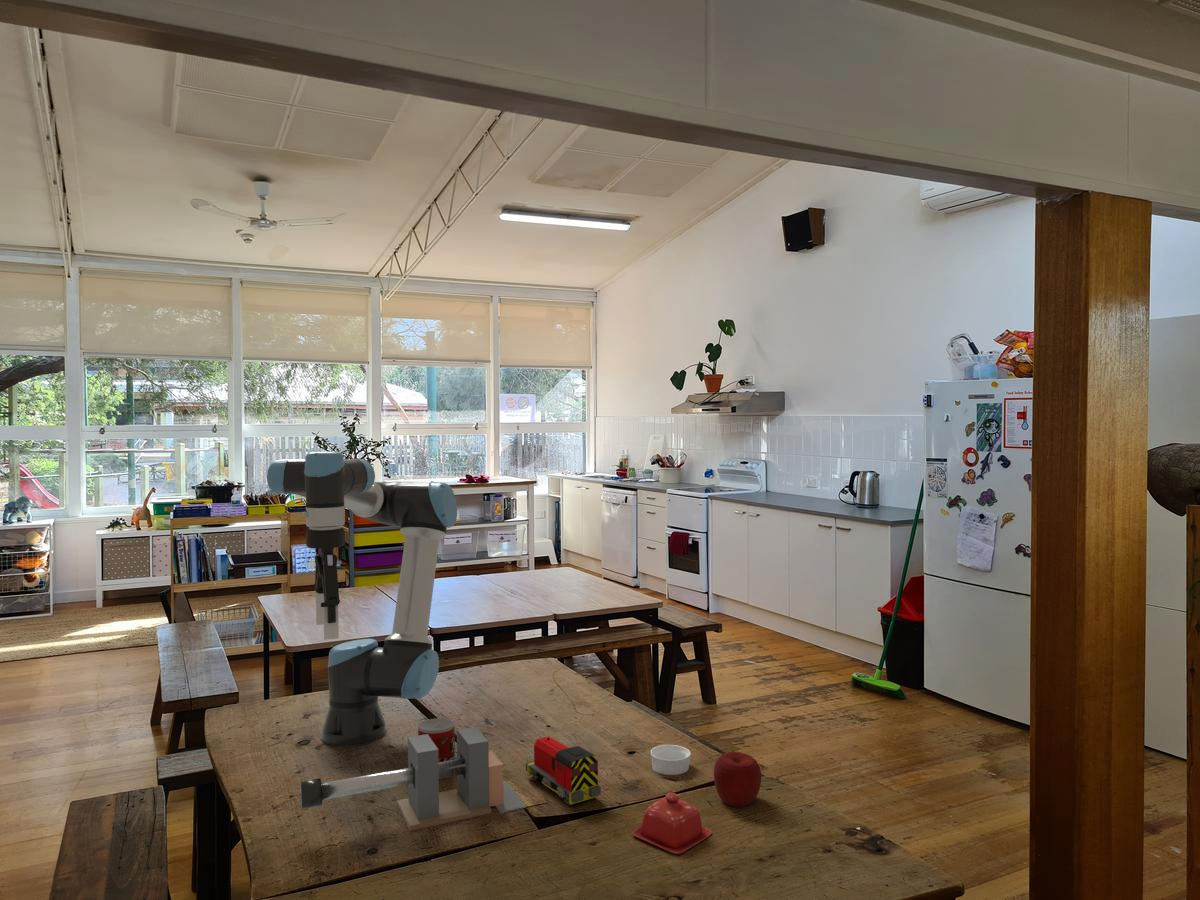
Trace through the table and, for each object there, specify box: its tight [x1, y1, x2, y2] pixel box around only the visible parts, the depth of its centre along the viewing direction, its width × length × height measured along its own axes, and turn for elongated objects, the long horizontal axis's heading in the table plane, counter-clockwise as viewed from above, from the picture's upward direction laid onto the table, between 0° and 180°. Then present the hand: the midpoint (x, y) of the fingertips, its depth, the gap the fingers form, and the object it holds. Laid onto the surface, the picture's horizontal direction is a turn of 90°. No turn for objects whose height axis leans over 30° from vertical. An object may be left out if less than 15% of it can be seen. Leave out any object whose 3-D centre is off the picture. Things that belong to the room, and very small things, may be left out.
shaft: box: [299, 758, 466, 810], centre depth 161 cm, size 31×5×5 cm, turn 115°
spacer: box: [489, 750, 504, 808], centre depth 170 cm, size 8×3×8 cm, turn 25°
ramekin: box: [650, 744, 692, 776], centre depth 184 cm, size 9×9×4 cm
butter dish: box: [631, 792, 713, 855], centre depth 154 cm, size 12×12×8 cm
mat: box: [494, 779, 527, 814], centre depth 172 cm, size 14×10×1 cm
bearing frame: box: [396, 726, 492, 832], centre depth 166 cm, size 16×12×14 cm
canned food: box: [417, 717, 456, 780], centre depth 183 cm, size 8×8×11 cm
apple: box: [713, 751, 762, 808], centre depth 168 cm, size 10×10×10 cm
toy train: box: [525, 735, 602, 805], centre depth 174 cm, size 7×19×10 cm, turn 35°
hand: (327, 631), depth 170 cm, fingers open, 13 cm apart
